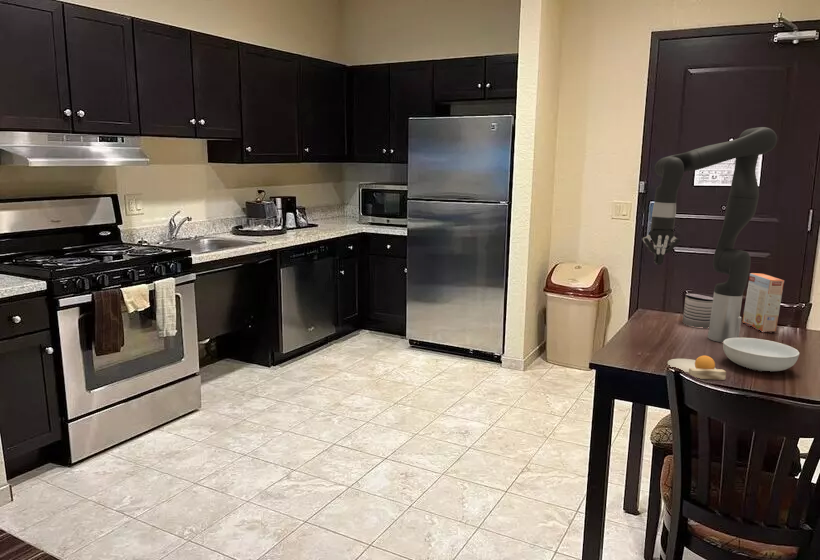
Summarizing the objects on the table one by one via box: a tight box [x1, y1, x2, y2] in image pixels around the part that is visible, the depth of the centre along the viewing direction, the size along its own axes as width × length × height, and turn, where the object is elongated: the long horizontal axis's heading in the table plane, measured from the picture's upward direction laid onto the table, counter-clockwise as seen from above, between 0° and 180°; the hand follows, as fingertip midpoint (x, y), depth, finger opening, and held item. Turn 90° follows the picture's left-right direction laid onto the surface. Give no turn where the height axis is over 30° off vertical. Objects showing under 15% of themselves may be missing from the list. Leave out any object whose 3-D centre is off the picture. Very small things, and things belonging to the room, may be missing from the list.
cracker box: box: [741, 272, 785, 332], centre depth 234 cm, size 14×6×21 cm, turn 179°
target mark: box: [667, 358, 717, 374], centre depth 188 cm, size 14×14×1 cm
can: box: [682, 293, 713, 329], centre depth 237 cm, size 11×11×12 cm
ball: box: [695, 355, 716, 369], centre depth 182 cm, size 6×6×6 cm
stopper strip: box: [688, 368, 727, 381], centre depth 178 cm, size 10×2×2 cm, turn 89°
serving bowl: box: [722, 337, 800, 372], centre depth 189 cm, size 21×21×7 cm
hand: (657, 264), depth 213 cm, fingers closed
